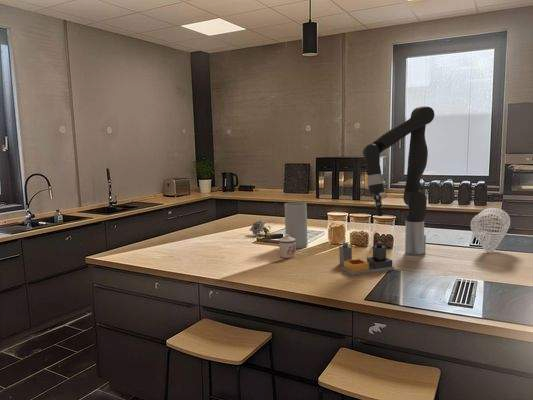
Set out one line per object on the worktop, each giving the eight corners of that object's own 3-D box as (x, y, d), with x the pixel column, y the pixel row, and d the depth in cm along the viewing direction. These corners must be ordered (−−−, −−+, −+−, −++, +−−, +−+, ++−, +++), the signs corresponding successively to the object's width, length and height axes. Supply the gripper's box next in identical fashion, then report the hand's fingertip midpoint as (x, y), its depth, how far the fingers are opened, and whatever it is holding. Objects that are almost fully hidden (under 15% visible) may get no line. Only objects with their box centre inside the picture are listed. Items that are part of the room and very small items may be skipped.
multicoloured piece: (383, 264, 203) (383, 239, 202) (394, 269, 195) (394, 243, 193) (342, 269, 198) (341, 243, 196) (350, 275, 189) (350, 248, 187)
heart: (501, 262, 199) (503, 216, 196) (466, 257, 209) (467, 213, 206) (511, 248, 221) (512, 207, 218) (478, 245, 231) (480, 205, 227)
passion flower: (256, 244, 275) (245, 229, 275) (264, 237, 284) (253, 223, 284) (267, 236, 268) (255, 221, 269) (275, 229, 277) (264, 215, 278)
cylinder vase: (307, 243, 249) (306, 201, 246) (307, 249, 237) (306, 205, 233) (286, 243, 250) (285, 202, 247) (285, 249, 238) (283, 205, 235)
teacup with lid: (289, 259, 218) (288, 237, 217) (275, 256, 224) (274, 235, 223) (302, 254, 227) (302, 232, 226) (289, 251, 233) (288, 231, 232)
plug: (347, 263, 208) (347, 241, 206) (351, 265, 204) (351, 243, 202) (339, 264, 207) (339, 242, 205) (343, 266, 203) (343, 244, 201)
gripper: (383, 182, 203) (388, 215, 203) (383, 183, 217) (387, 214, 216) (367, 184, 205) (372, 217, 205) (368, 185, 219) (372, 216, 218)
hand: (380, 215), depth 211 cm, fingers open, 8 cm apart
